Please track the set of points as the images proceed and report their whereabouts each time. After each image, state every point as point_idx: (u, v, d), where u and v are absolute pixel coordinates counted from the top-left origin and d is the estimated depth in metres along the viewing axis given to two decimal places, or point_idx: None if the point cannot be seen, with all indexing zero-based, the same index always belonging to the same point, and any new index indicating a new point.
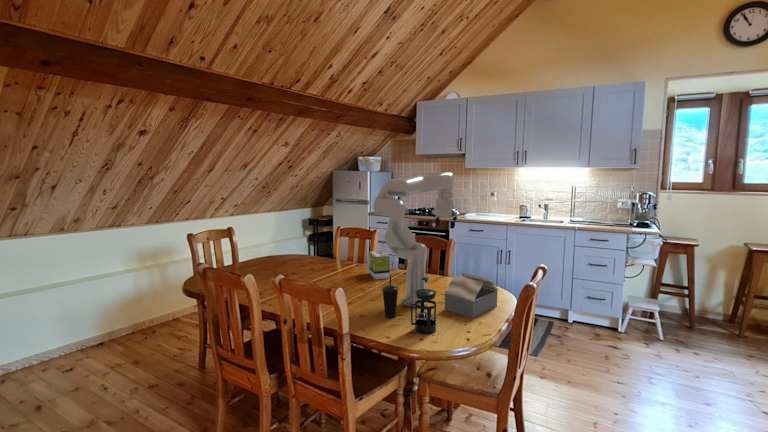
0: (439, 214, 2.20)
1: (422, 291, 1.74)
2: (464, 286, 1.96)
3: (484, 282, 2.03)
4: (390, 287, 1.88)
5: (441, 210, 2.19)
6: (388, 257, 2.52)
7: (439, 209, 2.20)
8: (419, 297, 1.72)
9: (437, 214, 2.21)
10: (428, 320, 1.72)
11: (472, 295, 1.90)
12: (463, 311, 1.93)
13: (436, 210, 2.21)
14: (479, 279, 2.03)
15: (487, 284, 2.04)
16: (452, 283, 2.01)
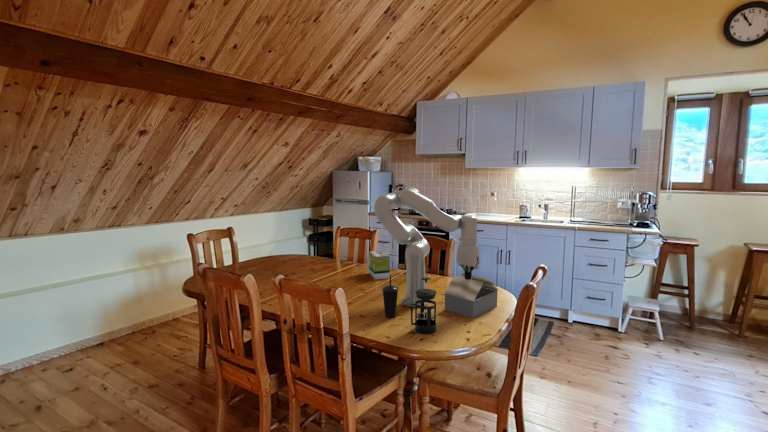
0: (462, 262, 1.96)
1: (422, 291, 1.74)
2: (465, 286, 1.96)
3: (484, 282, 2.03)
4: (390, 287, 1.88)
5: (464, 258, 1.95)
6: (388, 257, 2.52)
7: (462, 257, 1.96)
8: (419, 297, 1.72)
9: (459, 262, 1.97)
10: (428, 320, 1.72)
11: (472, 295, 1.90)
12: (463, 311, 1.93)
13: (458, 257, 1.98)
14: (479, 279, 2.03)
15: (487, 284, 2.04)
16: (452, 283, 2.01)
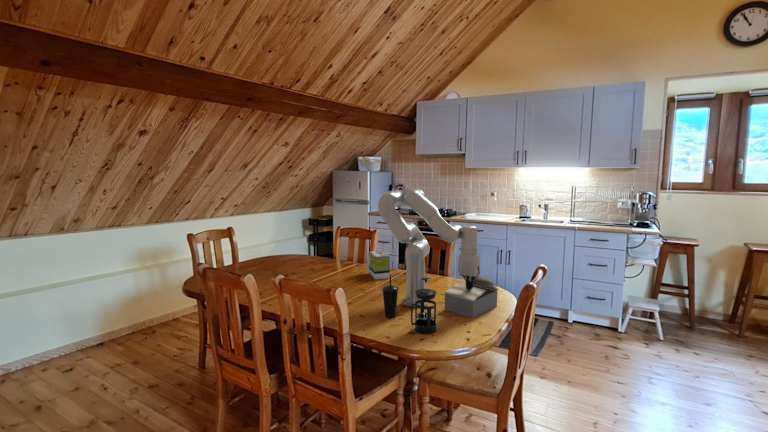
0: (463, 272, 1.97)
1: (422, 291, 1.74)
2: (466, 290, 1.98)
3: (484, 282, 2.03)
4: (390, 287, 1.88)
5: (465, 268, 1.96)
6: (388, 257, 2.52)
7: (462, 267, 1.97)
8: (419, 297, 1.72)
9: (460, 272, 1.98)
10: (428, 320, 1.72)
11: (473, 297, 1.91)
12: (463, 311, 1.93)
13: (459, 267, 1.98)
14: (479, 279, 2.03)
15: (487, 284, 2.04)
16: (454, 287, 2.03)
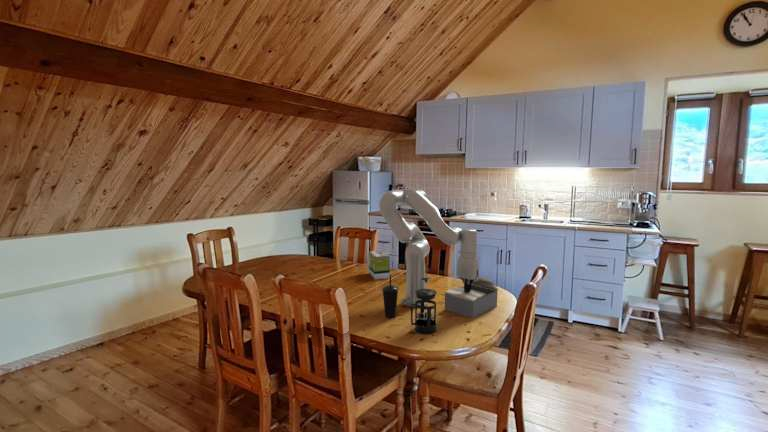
0: (461, 275, 1.97)
1: (422, 291, 1.74)
2: (466, 292, 1.98)
3: (484, 282, 2.03)
4: (390, 287, 1.88)
5: (464, 271, 1.96)
6: (388, 257, 2.52)
7: (461, 269, 1.97)
8: (419, 297, 1.72)
9: (459, 275, 1.98)
10: (428, 320, 1.72)
11: (473, 297, 1.91)
12: (463, 311, 1.93)
13: (458, 270, 1.98)
14: (479, 279, 2.03)
15: (487, 284, 2.04)
16: (454, 289, 2.03)
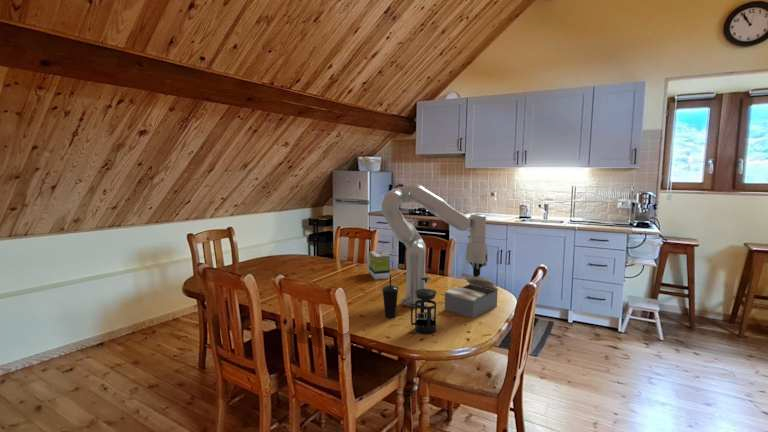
0: (470, 260, 2.02)
1: (422, 291, 1.74)
2: (466, 292, 1.98)
3: (484, 282, 2.03)
4: (390, 287, 1.88)
5: (473, 255, 2.01)
6: (388, 257, 2.52)
7: (470, 254, 2.02)
8: (419, 297, 1.72)
9: (468, 259, 2.03)
10: (428, 320, 1.72)
11: (473, 297, 1.91)
12: (463, 311, 1.93)
13: (467, 255, 2.03)
14: (479, 279, 2.03)
15: (487, 285, 2.04)
16: (454, 289, 2.03)
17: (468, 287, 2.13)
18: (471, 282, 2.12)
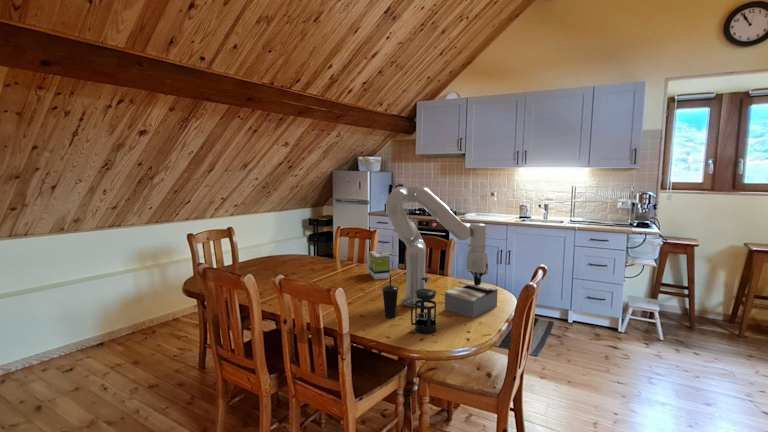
0: (471, 268, 2.02)
1: (422, 291, 1.74)
2: (466, 292, 1.98)
3: None
4: (390, 287, 1.88)
5: (473, 264, 2.01)
6: (388, 257, 2.52)
7: (471, 263, 2.02)
8: (419, 297, 1.72)
9: (469, 268, 2.03)
10: (428, 320, 1.72)
11: (473, 297, 1.91)
12: (463, 311, 1.93)
13: (468, 264, 2.04)
14: (477, 287, 2.02)
15: None
16: (454, 289, 2.03)
17: (468, 287, 2.13)
18: None
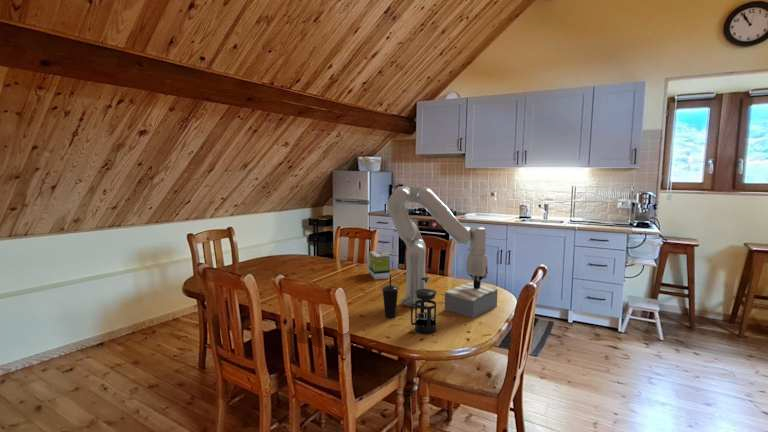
0: (471, 272, 2.03)
1: (422, 291, 1.74)
2: (466, 292, 1.98)
3: None
4: (390, 287, 1.88)
5: (473, 268, 2.02)
6: (388, 257, 2.52)
7: (471, 267, 2.03)
8: (419, 297, 1.72)
9: (468, 272, 2.04)
10: (428, 320, 1.72)
11: (473, 297, 1.91)
12: (463, 311, 1.93)
13: (467, 267, 2.04)
14: None
15: None
16: (454, 289, 2.03)
17: None
18: None
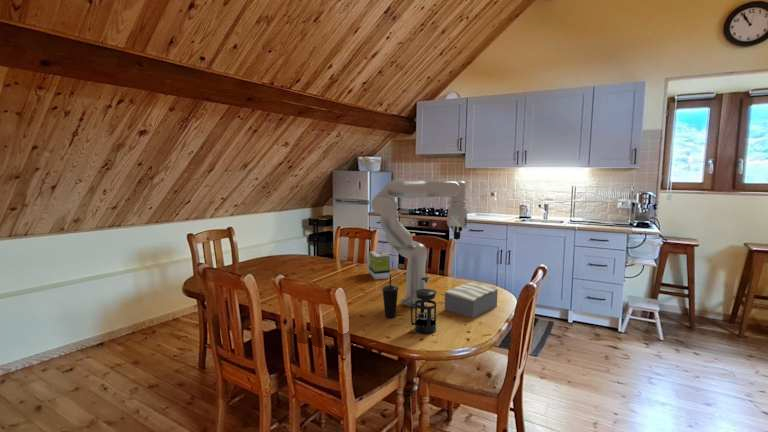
0: (451, 223, 2.15)
1: (422, 291, 1.74)
2: (466, 292, 1.98)
3: None
4: (390, 287, 1.88)
5: (453, 219, 2.14)
6: (388, 257, 2.52)
7: (451, 218, 2.15)
8: (419, 297, 1.72)
9: (449, 223, 2.16)
10: (428, 320, 1.72)
11: (473, 297, 1.91)
12: (463, 311, 1.93)
13: (448, 219, 2.17)
14: None
15: None
16: (454, 289, 2.03)
17: None
18: None
